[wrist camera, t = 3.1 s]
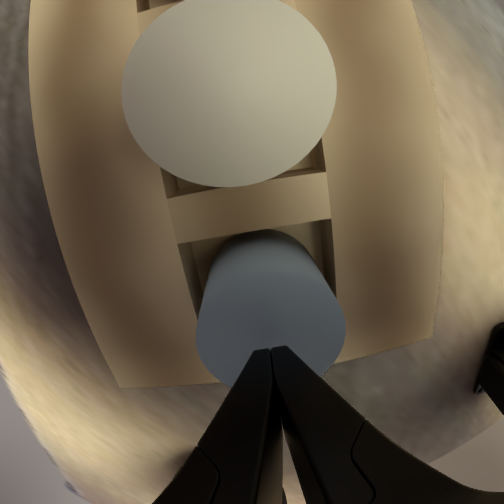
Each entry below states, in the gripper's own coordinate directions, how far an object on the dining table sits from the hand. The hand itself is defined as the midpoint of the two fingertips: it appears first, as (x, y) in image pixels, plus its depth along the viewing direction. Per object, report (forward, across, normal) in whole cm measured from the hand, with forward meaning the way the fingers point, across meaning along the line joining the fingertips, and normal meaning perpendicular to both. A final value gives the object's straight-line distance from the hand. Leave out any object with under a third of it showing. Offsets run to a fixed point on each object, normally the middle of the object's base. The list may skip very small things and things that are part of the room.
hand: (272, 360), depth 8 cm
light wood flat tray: (+6, 0, -6) cm, 9 cm away
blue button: (+5, 0, 0) cm, 5 cm away
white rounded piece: (+4, 0, -7) cm, 8 cm away
